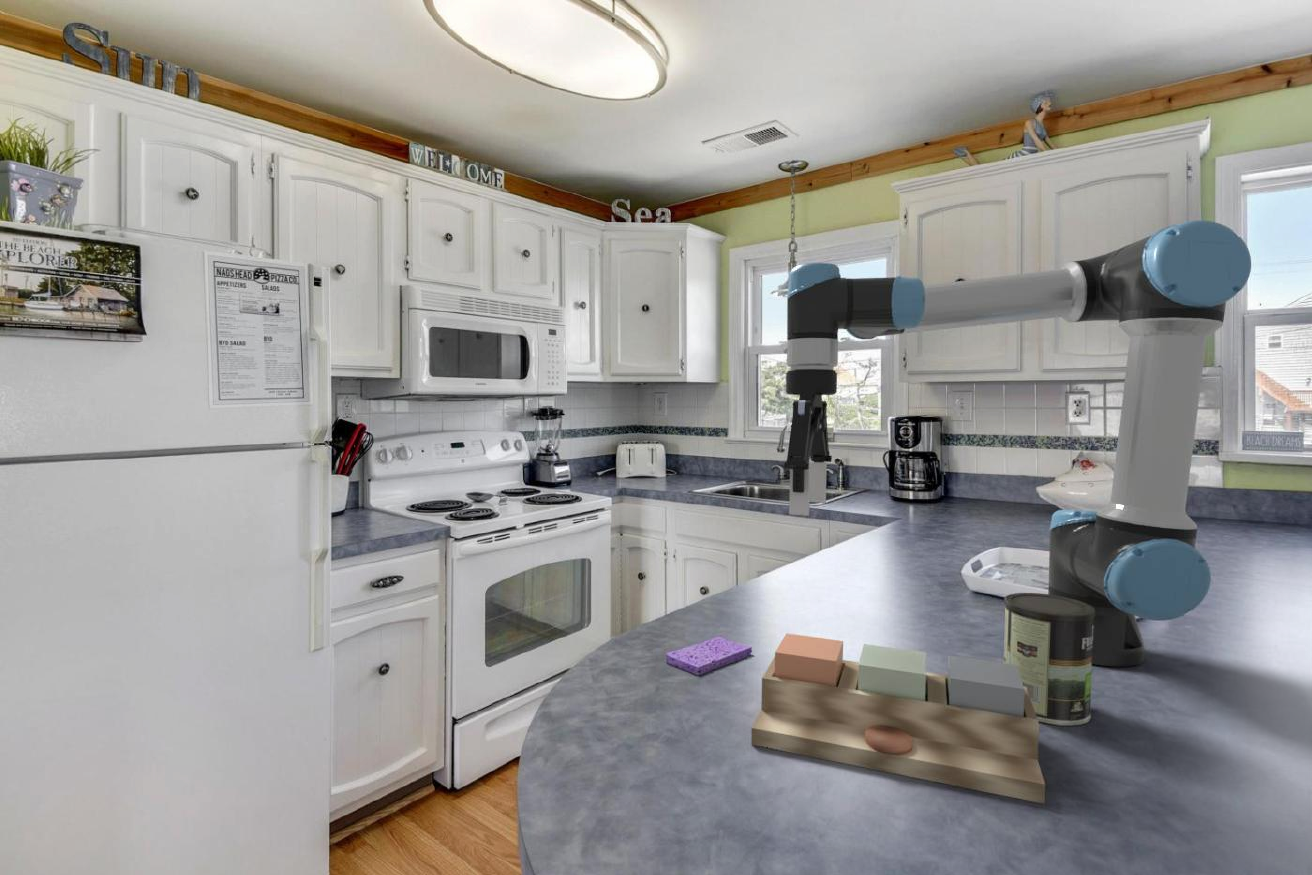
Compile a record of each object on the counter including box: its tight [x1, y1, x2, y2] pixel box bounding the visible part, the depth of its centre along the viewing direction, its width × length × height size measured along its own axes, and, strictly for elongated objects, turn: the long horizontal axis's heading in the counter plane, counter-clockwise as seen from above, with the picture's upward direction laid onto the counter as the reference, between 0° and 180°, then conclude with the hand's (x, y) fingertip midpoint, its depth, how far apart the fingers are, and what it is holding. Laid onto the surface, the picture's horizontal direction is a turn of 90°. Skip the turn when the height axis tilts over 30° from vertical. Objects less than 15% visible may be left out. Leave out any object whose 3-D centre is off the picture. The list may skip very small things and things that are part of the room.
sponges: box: [665, 636, 753, 676], centre depth 105 cm, size 7×13×2 cm, turn 133°
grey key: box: [947, 654, 1025, 717], centre depth 78 cm, size 7×7×5 cm
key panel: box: [750, 656, 1046, 805], centre depth 79 cm, size 30×15×6 cm, turn 68°
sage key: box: [858, 643, 927, 701], centre depth 82 cm, size 7×7×5 cm
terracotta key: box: [774, 633, 844, 687], centre depth 85 cm, size 7×7×5 cm
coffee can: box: [1003, 592, 1095, 727], centre depth 88 cm, size 10×10×14 cm
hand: (808, 508), depth 102 cm, fingers open, 13 cm apart
